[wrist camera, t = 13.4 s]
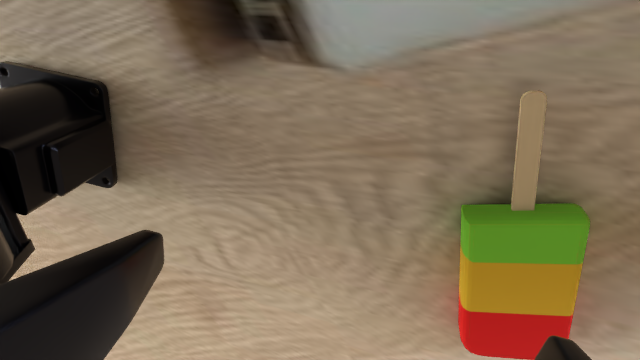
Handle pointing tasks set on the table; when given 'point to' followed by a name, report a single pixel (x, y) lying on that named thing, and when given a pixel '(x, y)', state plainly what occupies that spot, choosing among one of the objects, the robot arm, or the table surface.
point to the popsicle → (520, 257)
